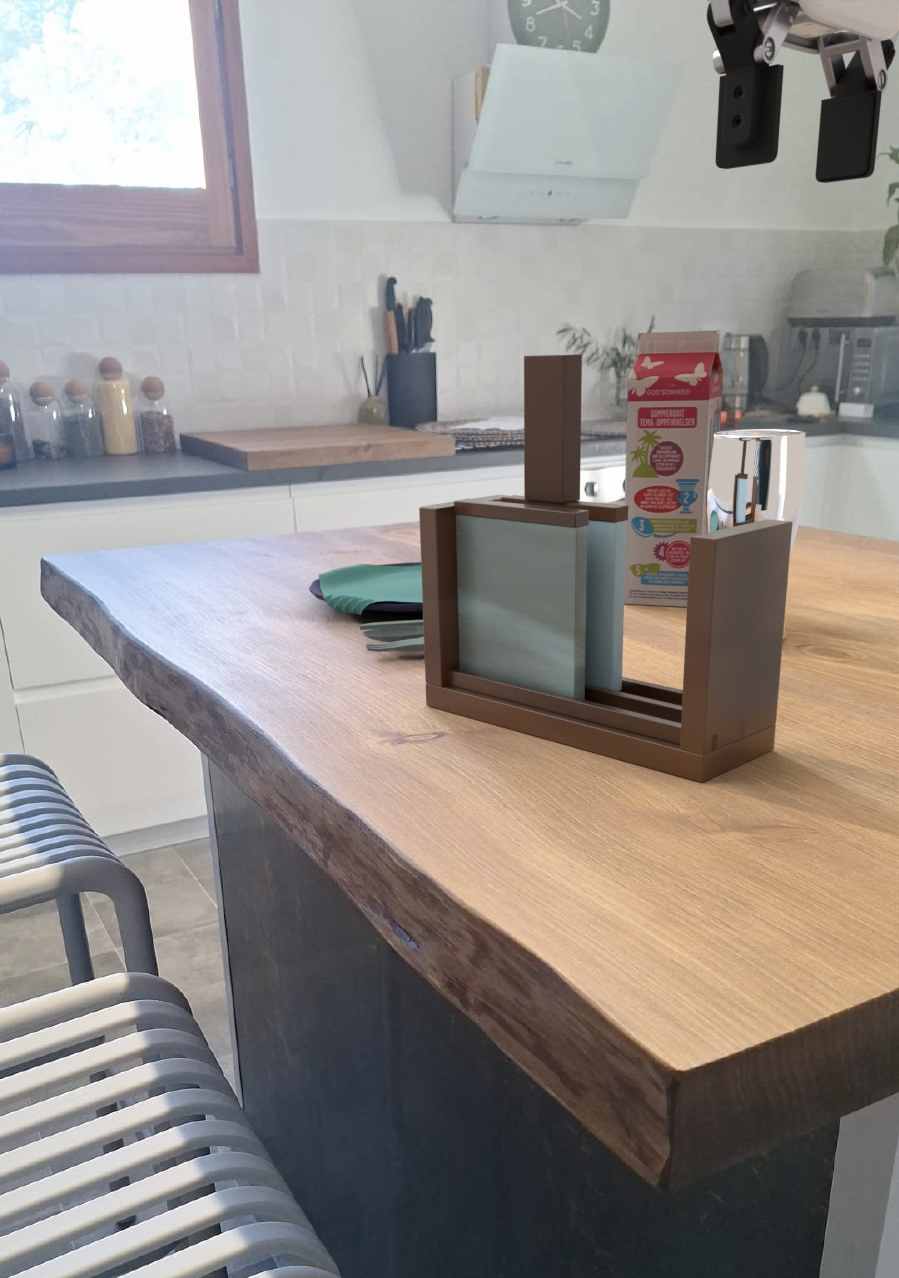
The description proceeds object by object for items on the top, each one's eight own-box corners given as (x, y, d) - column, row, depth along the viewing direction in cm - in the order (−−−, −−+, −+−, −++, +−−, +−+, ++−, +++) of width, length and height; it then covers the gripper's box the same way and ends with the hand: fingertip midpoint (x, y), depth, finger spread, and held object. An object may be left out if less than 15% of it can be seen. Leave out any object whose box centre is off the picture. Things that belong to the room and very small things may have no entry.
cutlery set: (507, 576, 113) (507, 553, 112) (584, 648, 86) (585, 618, 85) (307, 587, 111) (305, 563, 110) (319, 665, 83) (317, 634, 82)
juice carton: (638, 589, 106) (646, 333, 97) (710, 592, 103) (725, 330, 95) (621, 603, 100) (629, 333, 92) (697, 607, 98) (712, 330, 89)
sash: (517, 664, 74) (515, 355, 67) (625, 689, 68) (635, 353, 61) (500, 669, 73) (496, 356, 66) (608, 695, 67) (617, 353, 60)
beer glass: (679, 637, 88) (689, 434, 82) (733, 622, 92) (746, 427, 87) (756, 652, 83) (772, 437, 78) (809, 635, 87) (828, 430, 82)
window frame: (500, 682, 78) (498, 489, 73) (774, 749, 63) (793, 515, 59) (425, 705, 73) (418, 501, 68) (702, 783, 59) (716, 532, 54)
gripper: (805, -348, 45) (772, 148, 51) (987, -218, 56) (941, 176, 62) (650, -274, 50) (637, 169, 56) (845, -168, 61) (816, 192, 67)
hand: (797, 172), depth 59 cm, fingers open, 9 cm apart
